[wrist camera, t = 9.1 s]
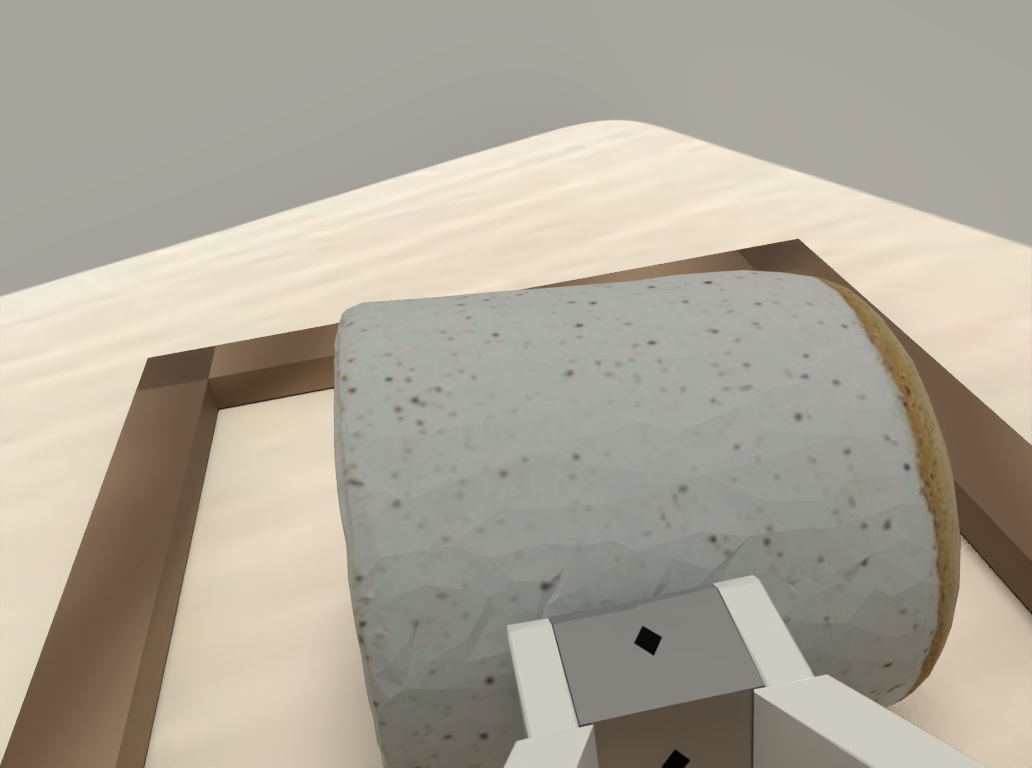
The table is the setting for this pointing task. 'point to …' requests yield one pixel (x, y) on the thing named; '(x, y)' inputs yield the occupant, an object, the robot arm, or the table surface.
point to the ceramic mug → (630, 484)
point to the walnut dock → (310, 366)
